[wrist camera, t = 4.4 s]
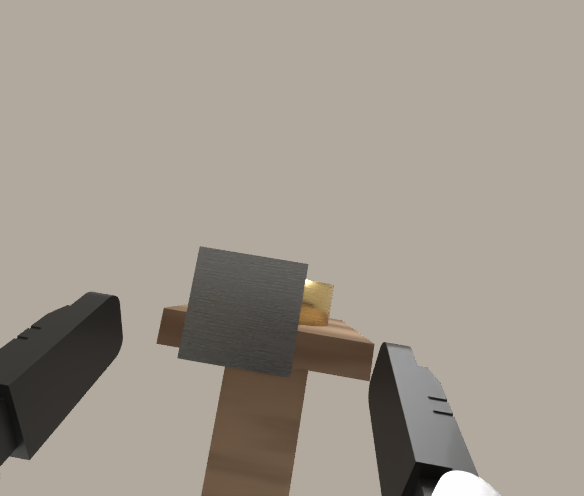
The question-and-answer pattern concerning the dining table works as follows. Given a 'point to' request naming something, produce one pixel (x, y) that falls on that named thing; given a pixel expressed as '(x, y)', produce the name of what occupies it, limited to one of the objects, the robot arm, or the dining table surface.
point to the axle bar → (250, 311)
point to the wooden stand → (269, 407)
